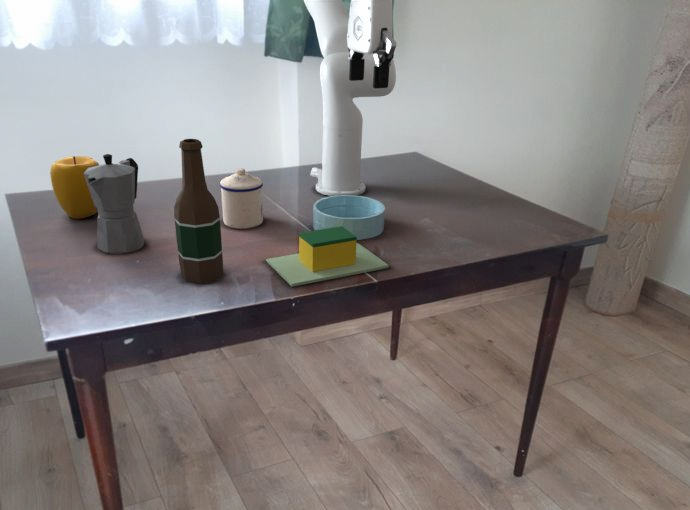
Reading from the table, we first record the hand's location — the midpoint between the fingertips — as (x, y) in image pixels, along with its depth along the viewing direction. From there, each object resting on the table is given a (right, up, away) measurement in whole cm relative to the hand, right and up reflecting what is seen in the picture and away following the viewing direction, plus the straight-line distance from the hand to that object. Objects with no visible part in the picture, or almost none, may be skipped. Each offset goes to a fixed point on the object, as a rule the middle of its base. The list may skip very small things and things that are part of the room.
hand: (368, 84), depth 127 cm
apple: (-62, -24, +14) cm, 68 cm away
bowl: (-4, -27, +9) cm, 29 cm away
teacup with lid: (-27, -25, +13) cm, 39 cm away
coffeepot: (-49, -32, 0) cm, 59 cm away
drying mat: (-8, -37, -7) cm, 39 cm away
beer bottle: (-31, -40, -12) cm, 52 cm away
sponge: (-8, -37, -7) cm, 39 cm away
